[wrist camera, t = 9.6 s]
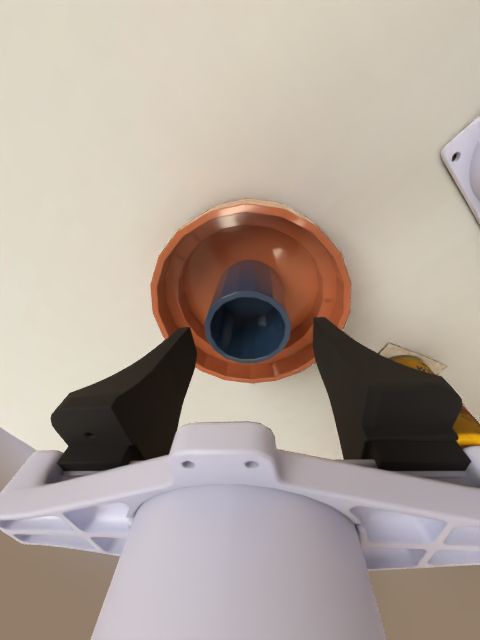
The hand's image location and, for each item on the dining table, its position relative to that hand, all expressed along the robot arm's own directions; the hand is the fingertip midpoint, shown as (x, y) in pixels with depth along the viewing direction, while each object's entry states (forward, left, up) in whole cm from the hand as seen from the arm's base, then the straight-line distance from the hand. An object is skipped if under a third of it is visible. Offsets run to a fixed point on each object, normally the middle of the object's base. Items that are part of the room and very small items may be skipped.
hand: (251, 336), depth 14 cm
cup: (0, +1, -9) cm, 9 cm away
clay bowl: (0, +1, -9) cm, 9 cm away
